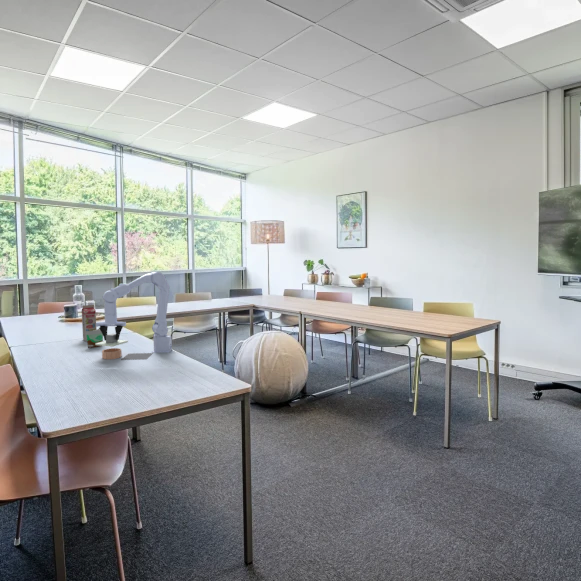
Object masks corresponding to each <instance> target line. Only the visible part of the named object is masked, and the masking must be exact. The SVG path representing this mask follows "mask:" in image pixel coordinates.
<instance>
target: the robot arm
mask: <svg viewBox="0 0 581 581" xmlns="http://www.w3.org/2000/svg"><path fill="white" fill-rule="evenodd" d="M145 283H149V284H154V285H155V286H156V288H158V299H157V300H158V301H157V310H156V317H155V319H154V323H153V324H152V326H151V329H152V332H153V333H154V334H153V350H152V351H151V353H153V354H155V353H170V352H171V351H172V350H173V339H172V335H168V333H169V332H168V331H169V328H168V322H167V313H168V311H167V310H168V302H169V295H170V294H169V293H170V285H169V283H168V281H167V279H166V276H165V275H164V274H163V273H162V272H159V271H150V272H149V273H146V274H144V275H141V276H139V277H138V278H136V279H134V280H133V281H131V282H128V283H125V282H123V283H119V284H118V286H116V287H111V288H110V290H106V291H105V292H104V293H103V295H102V299H103V300H104V303H103V304H104V306H103V307H104V309H103V310H104V321H102V322H101V321H96V328H97V327H98V329H100V331H101V332H102V334H103V341H106V335H107V334H108V328H109V327H114V331H115V334H116V340H120V334H121V331H122V329H123V327H126V326H127V321H118V312H117V299H121V298H122V297H124V296H126V295H128V294H130V292H131V291H132V289H134V288H137V287H139V286H141V285H143V284H145Z"/></svg>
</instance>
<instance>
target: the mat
mask: <svg viewBox="0 0 581 581" xmlns="http://www.w3.org/2000/svg"><path fill="white" fill-rule="evenodd" d="M153 354H154V353H152V352H150V353H149V352H143V353H141V352H140V353H139V352H137V353H135V352H134V353H128V354H126V355H125V356H124V357H122V358H121V359H120V361H130V360H131V361H135V360H137V361H139V360H140V361H141V360H148V359H149V358H150V357H151V356H152V355H153Z"/></svg>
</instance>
